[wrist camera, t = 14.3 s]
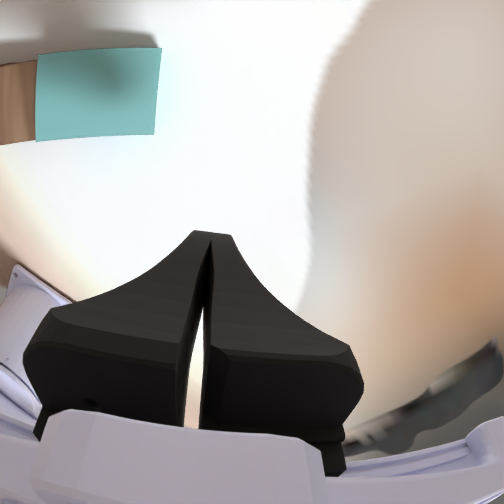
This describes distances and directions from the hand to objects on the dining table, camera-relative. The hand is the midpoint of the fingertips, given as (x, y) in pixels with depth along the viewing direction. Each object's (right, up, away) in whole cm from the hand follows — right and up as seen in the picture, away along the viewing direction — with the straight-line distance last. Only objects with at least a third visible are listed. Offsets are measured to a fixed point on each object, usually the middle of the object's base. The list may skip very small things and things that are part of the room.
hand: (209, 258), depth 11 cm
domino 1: (-9, +10, +5) cm, 14 cm away
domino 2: (-4, +9, +5) cm, 11 cm away
